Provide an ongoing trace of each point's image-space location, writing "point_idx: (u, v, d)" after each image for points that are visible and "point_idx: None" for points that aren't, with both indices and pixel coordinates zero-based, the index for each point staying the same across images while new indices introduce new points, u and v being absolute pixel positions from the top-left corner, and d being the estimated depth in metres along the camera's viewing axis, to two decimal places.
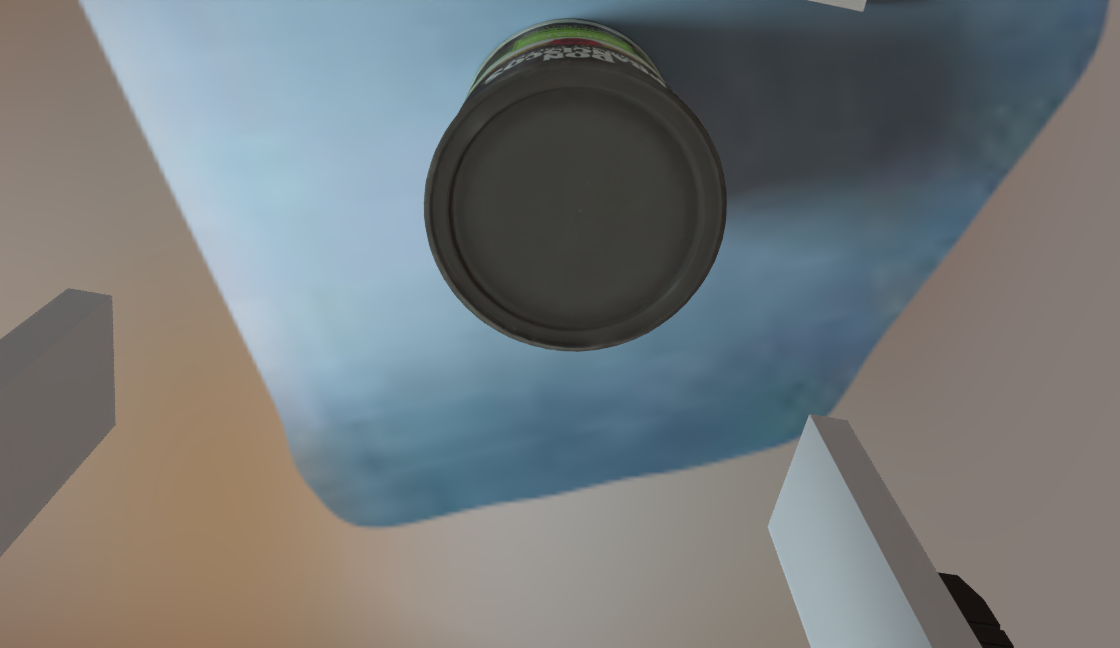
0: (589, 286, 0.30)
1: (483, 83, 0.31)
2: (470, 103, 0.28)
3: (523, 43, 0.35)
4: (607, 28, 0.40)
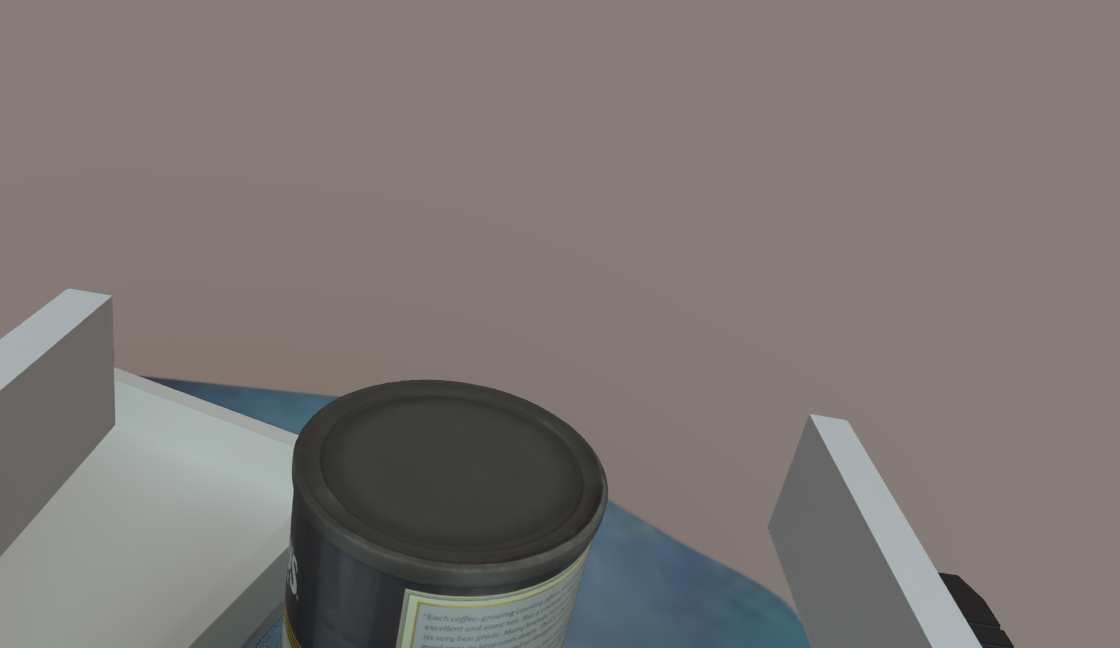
0: (534, 472, 0.29)
1: (297, 589, 0.27)
2: (304, 493, 0.25)
3: None
4: None
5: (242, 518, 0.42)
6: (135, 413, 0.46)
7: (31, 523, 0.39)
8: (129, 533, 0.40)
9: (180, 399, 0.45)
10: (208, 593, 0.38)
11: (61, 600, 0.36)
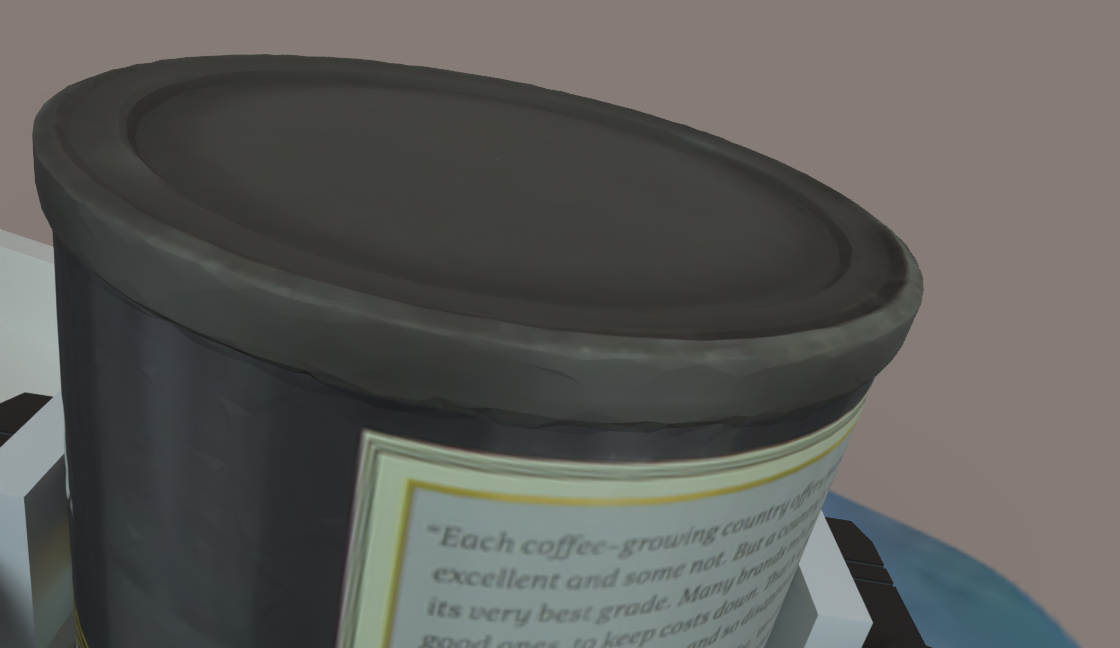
0: (709, 198, 0.11)
1: (69, 482, 0.10)
2: (41, 147, 0.08)
3: None
4: None
5: None
6: None
7: None
8: None
9: (28, 248, 0.28)
10: None
11: None
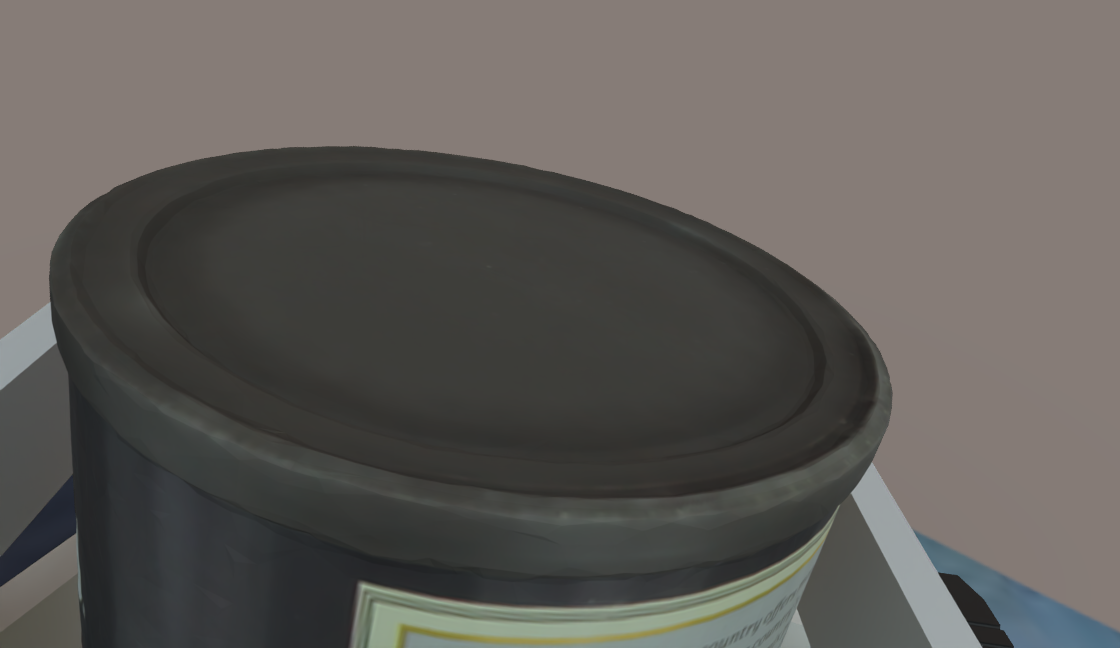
0: (691, 302, 0.12)
1: (81, 588, 0.10)
2: (58, 297, 0.08)
3: None
4: None
5: None
6: None
7: None
8: None
9: None
10: None
11: None
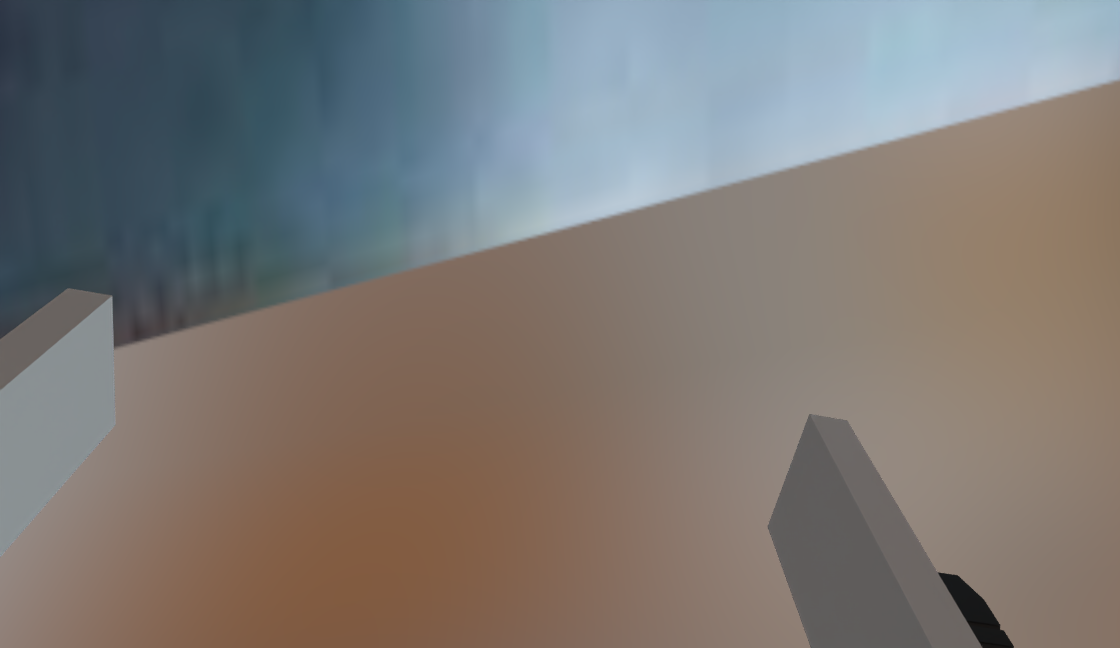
0: None
1: None
2: None
3: None
4: None
5: None
6: None
7: None
8: None
9: None
10: None
11: None
